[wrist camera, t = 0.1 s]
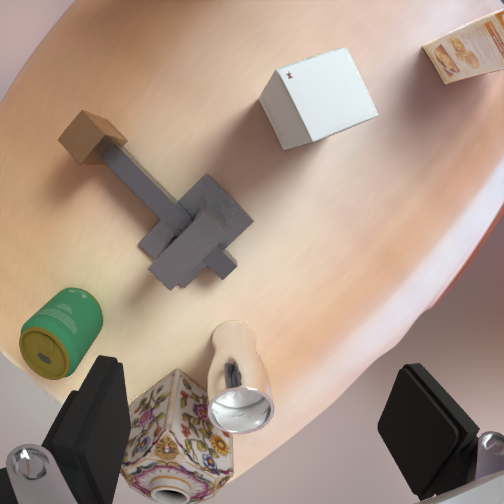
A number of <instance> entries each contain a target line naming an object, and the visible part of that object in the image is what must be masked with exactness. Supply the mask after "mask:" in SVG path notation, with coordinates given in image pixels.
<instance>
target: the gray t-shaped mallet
mask: <svg viewBox="0 0 504 504" xmlns="http://www.w3.org/2000/svg"><path fill="white" fill-rule="evenodd" d="M58 141H59V142H60V143H61V144H62V145H63V146H64V147H65V149H66V150H67V151H68V152H69V153H70V154H71V155H72V156H73V157H74V158H75V160H76V161H77V162H78V163H79V164H106V165H107V166H108V167H109V168H110V169H111V170H112V171H113V172H114V173H115V174H116V175H117V176H118V177H119V178H120V179H121V180H122V181H123V182H124V183H125V184H126V185H127V187H128V188H129V189H130V190H131V191H132V192H133V193H134V194H135V195H136V196H137V197H138V198H139V199H140V200H141V201H142V202H143V203H144V204H145V205H146V206H147V207H148V208H149V209H150V210H151V211H152V212H153V213H154V214H155V215H156V216H157V217H158V218H159V219H160V220H161V221H162V222H163V223H164V224H165V225H166V226H167V227H168V228H169V229H170V230H171V231H172V232H173V233H174V234H175V235H176V236H177V237H178V236H179V235H180V234H181V233H182V232H183V231H184V230H185V229H186V228H187V227H188V226H189V225H190V224H191V223H192V222H193V220H194V218H193V217H192V216H191V215H190V214H189V213H188V212H187V211H186V210H185V209H184V208H183V207H182V206H181V205H180V204H179V203H178V202H177V201H176V200H175V199H174V198H173V197H172V196H171V195H170V194H169V193H168V192H167V191H166V190H165V189H164V188H163V187H162V186H161V185H160V184H159V183H158V182H157V181H156V180H155V179H154V178H153V177H152V176H151V175H150V174H149V173H148V172H147V171H146V170H145V169H144V168H143V167H142V166H141V165H140V164H139V163H138V162H137V160H136V159H135V158H134V157H133V156H132V155H131V154H130V153H129V152H128V151H127V150H126V149H125V148H124V147H123V145H124V144H125V143H126V142H127V141H128V140H127V139H126V138H125V137H124V136H123V135H122V134H121V133H120V132H119V131H118V130H117V129H116V128H115V127H114V126H113V125H112V124H111V123H110V122H109V121H108V120H106V119H104V118H101V117H99V116H96V115H94V114H91V113H88V112H86V111H83V110H82V111H81V112H80V113H79V114H78V115H77V117H76V118H75V119H74V120H73V121H72V123H71V124H70V125H69V126H68V127H67V129H66V130H65V131H64V132H63V134H62V135H61V136H60V137H59V139H58ZM202 261H203V262H204V263H205V264H206V265H207V266H208V267H209V268H210V269H211V270H212V271H213V272H215V273H216V274H217V275H218V276H219V277H220V278H221V279H222V280H223V279H224V278H226V277H227V276H228V275H229V274H230V273H231V272H232V271H233V270H234V269H235V268H236V267H237V261H236V260H235V259H234V258H233V257H232V256H231V255H230V254H229V253H228V252H227V251H226V250H225V249H224V248H223V247H222V246H221V245H220V244H218V245H217V246H216V247H215V248H214V249H213V250H212V251H211V252H210V253H209V254H208V255H207V256H206V257H205V258H204V259H203V260H202Z"/></svg>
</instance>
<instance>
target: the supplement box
mask: <svg viewBox="0 0 504 504" xmlns="http://www.w3.org/2000/svg"><path fill="white" fill-rule="evenodd" d="M259 101H260V103H261V105H262V107H263V109H264V111H265V113H266V115H267V117H268V119H269V121H270V123H271V125H272V127H273V129H274V132H275V134H276V136H277V138H278V140H279V142H280V144H281V146H282V148H283V150H287V149H291V148H294V147H297V146H301V145H304V144H308V143H312V142H316V141H319V140H321V139H324V138H326V137H329V136H332V135H334V134H337V133H339V132H342V131H344V130H346V129H349V128H351V127H353V126H356V125H358V124H361V123H363V122H365V121H368V120H370V119H372V118H375V117H377V116H378V113H377V110H376V108H375V106H374V103H373V101H372V99H371V97H370V95H369V93H368V91H367V88H366V86H365V84H364V82H363V80H362V78H361V76H360V74H359V72H358V70H357V67H356V65H355V63H354V61H353V59H352V57H351V55H350V53H349V51H348V49H347V48H346V47H343V48H339V49H336V50H333V51H329V52H326V53H323V54H320V55H316V56H313V57H309V58H307V59H304V60H301V61H298V62H295V63H293V64H290V65H287V66H284V67H281V68H278V69H276V70H275V71H274V73H273V75H272V77H271V78H270V80H269V82H268V83H267V85H266V87H265V88H264V90H263V92H262V94H261V95H260V97H259Z"/></svg>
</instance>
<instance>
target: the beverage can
mask: <svg viewBox="0 0 504 504" xmlns="http://www.w3.org/2000/svg"><path fill="white" fill-rule="evenodd" d="M102 325H103V317H102V311H101V308H100V306H99V304H98V302H97V300H96V299H95V298H94V297H93V296H92V295H91V294H90V293H88V292H87V291H85V290H82V289H78V288H66V289H64V290H62V291H60V292H59V293H58V294H57V295H56V296H54V297H53V298H52V299H51V300H50V301H49V302H48V303H46V304H45V305H44V306H43V307H42V308H41V309H40V310H39V311H38V312H36V313H35V314H34V315H33V316H32V317H31V318H30V319H29V320H28V321H27V322H26V323H25V324H24V325H23V327H22V330H21V336H20V340H19V346H20V351H21V354H22V356H23V358H24V360H25V362H26V363H27V364H28V366H29V367H30V368H31V369H32V370H33V371H34V372H36V373H37V374H38V375H40V376H42V377H44V378H47V379H50V380H58V379H61V378H64V377H68V376H70V375H71V374H72V373H73V372H74V371H75V370H76V368H77V366H78V365H79V363H80V362H81V360H82V359H83V357H84V355H85V354H86V352H87V351H88V349H89V348H90V346H91V345H92V343H93V342H94V340H95V338H96V337H97V335H98V334H99V332H100V331H101V329H102Z"/></svg>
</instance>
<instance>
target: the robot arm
mask: <svg viewBox="0 0 504 504" xmlns="http://www.w3.org/2000/svg"><path fill="white" fill-rule="evenodd" d="M479 430H480V428H479V427H478V426H477V425H476V424H475V423H474V422H473V420H472V419H471V418H470V417H469V416H468V415H467V414H466V413H465V411H464V410H463V409H462V408H461V407H460V406H459V405H458V404H457V403H456V402H455V401H454V399H453V398H452V397H451V396H450V395H449V394H448V393H447V392H446V391H445V389H444V388H443V387H442V386H441V385H440V384H439V383H438V382H437V381H436V380H435V379H434V378H433V377H432V375H431V374H430V373H429V372H428V371H427V370H426V369H425V368H424V367H423V366H422V365H421V364H420V363H415V364H406V365H404V366H403V368H402V369H400V370H399V372H398V375H397V377H396V380H395V383H394V385H393V388H392V391H391V393H390V396H389V398H388V401H387V403H386V405H385V408H384V411H383V413H382V415H381V417H380V420H379V422H378V432H379V434H380V435H381V437H382V439H383V441H384V442H385V444H386V446H387V448H388V449H389V451H390V453H391V455H392V457H393V458H394V460H395V462H396V464H397V465H398V467H399V469H400V471H401V473H402V474H403V476H404V478H405V480H406V482H407V483H408V485H409V487H410V489H411V491H412V492H413V494H415V495H417V496H418V498H419V499H420V501H421V502H419V503H415V504H504V435H502V434H501V433H498V432H494V431H488V432H484V433H482V434H481V436H480V437H479V438H478V437H477V436H476V435H477V433H478V431H479ZM130 432H131V420H130V414H129V408H128V401H127V394H126V387H125V379H124V370H123V364H122V363H119V362H118V361H117V358H115V357H108V356H102V355H99V356H98V357H97V359H96V360H95V362H94V364H93V366H92V367H91V369H90V371H89V373H88V374H87V376H86V378H85V380H84V382H83V383H82V385H81V387H80V389H79V391H76V390H73V391H71V393H70V394H69V396H68V397H67V399H66V401H65V403H64V404H63V406H62V408H61V410H60V412H59V413H58V415H57V417H56V419H55V421H54V423H53V424H52V426H51V428H50V430H49V432H48V434H47V436H46V438H45V440H44V441H43V443H42V445H41V446H39V445H34V444H25V445H21V446H18V447H16V448H15V449H13V450H12V451H11V452H10V453H9V455H8V456H7V460H6V467H5V468H2V469H0V504H112V502H113V498H114V493H115V489H116V485H117V481H118V477H119V473H120V469H121V465H122V462H123V458H124V454H125V450H126V447H127V443H128V439H129V436H130ZM434 494H436V496H435V497H433V498H431V497H432V496H434ZM428 498H430V499H428ZM425 499H427V500H425ZM422 500H424V501H422Z"/></svg>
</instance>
